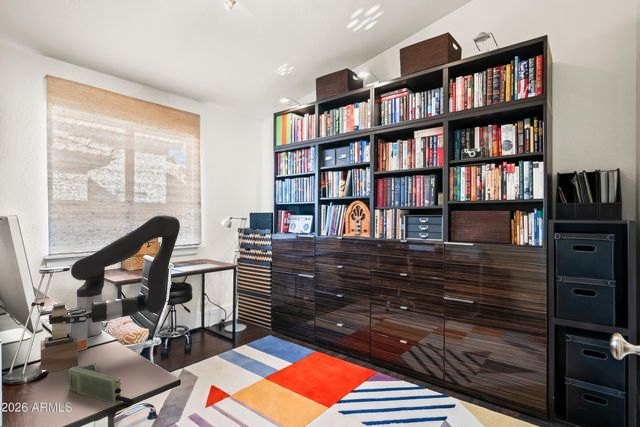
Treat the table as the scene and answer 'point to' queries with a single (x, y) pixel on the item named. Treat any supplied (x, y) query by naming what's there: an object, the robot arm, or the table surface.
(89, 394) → the handheld radio
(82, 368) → the low socket
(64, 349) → the walnut dock
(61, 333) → the beech plug
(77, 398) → the table surface
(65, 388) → the table surface
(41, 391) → the table surface
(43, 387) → the table surface
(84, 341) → the skincare box
